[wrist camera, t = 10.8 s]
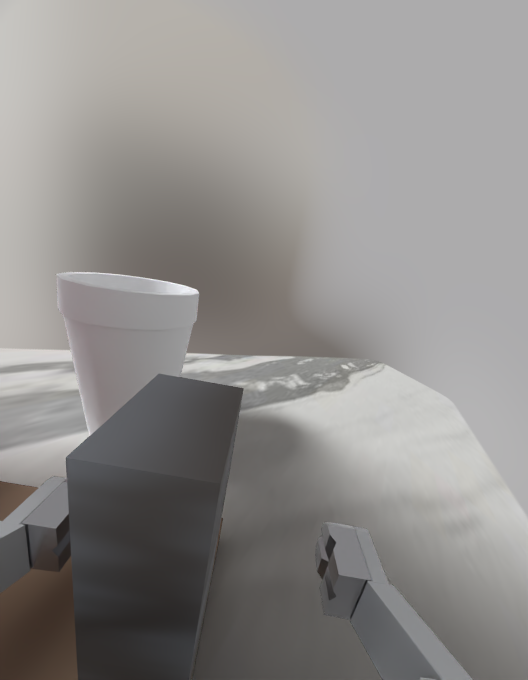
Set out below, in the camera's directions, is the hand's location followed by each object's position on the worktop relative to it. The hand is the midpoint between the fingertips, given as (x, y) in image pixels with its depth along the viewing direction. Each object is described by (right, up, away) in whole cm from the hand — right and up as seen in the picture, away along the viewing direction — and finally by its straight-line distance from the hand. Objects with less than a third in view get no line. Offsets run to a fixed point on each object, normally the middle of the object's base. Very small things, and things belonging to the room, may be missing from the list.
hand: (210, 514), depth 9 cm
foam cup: (-10, -2, +14) cm, 17 cm away
